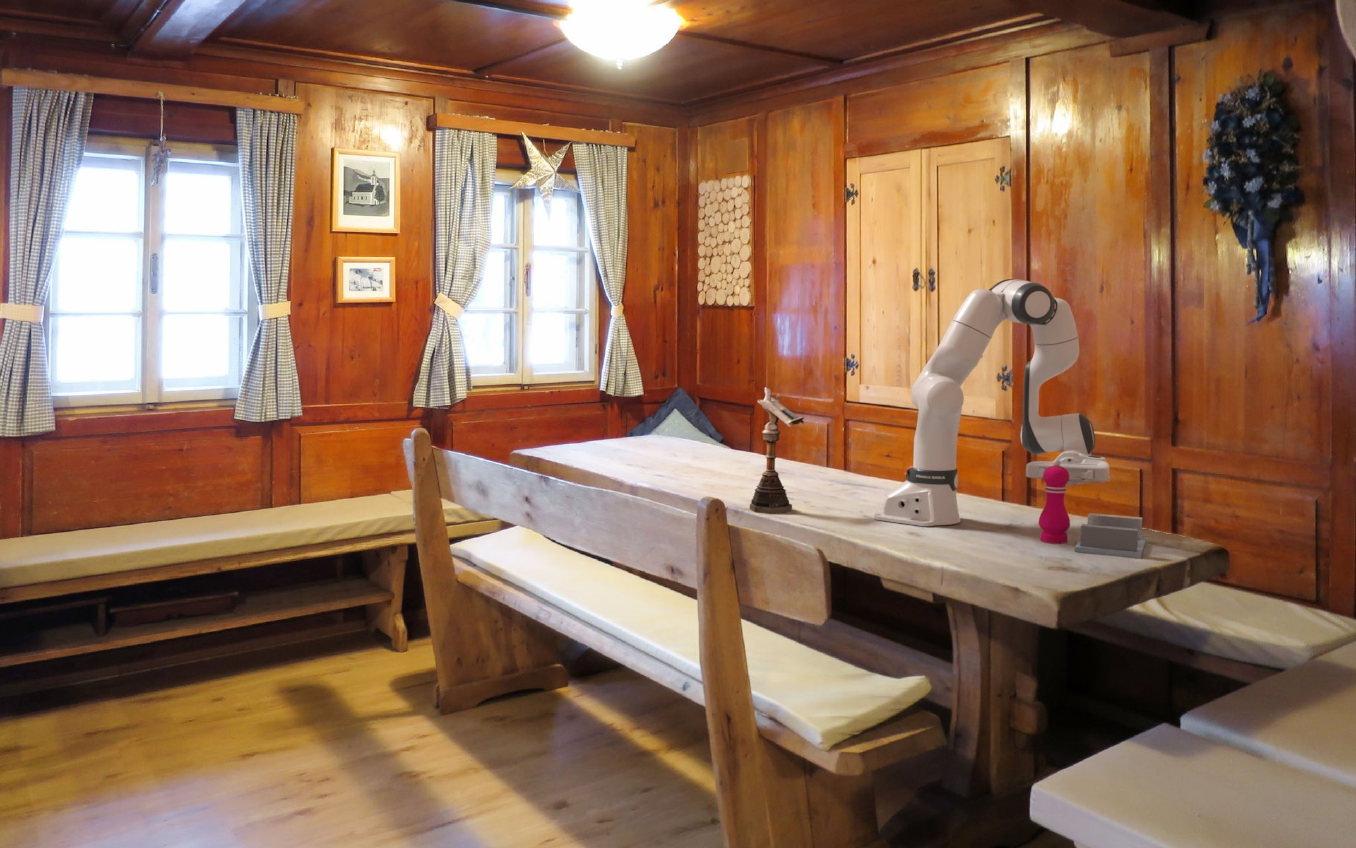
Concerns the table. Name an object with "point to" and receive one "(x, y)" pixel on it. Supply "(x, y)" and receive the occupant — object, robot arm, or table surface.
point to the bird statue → (773, 460)
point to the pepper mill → (1055, 505)
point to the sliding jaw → (1116, 521)
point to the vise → (1110, 541)
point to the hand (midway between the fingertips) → (1063, 475)
